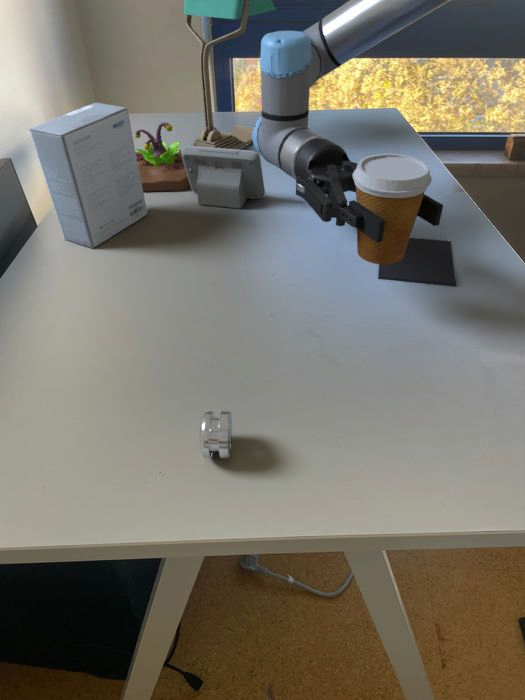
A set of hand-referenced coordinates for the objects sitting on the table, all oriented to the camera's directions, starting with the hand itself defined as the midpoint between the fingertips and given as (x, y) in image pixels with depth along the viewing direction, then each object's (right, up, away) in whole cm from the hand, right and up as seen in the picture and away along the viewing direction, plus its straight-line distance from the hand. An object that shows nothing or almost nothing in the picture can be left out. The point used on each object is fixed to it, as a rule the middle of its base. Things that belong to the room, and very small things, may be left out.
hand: (410, 223), depth 63 cm
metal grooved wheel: (-23, -27, -6) cm, 36 cm away
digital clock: (-26, +16, +43) cm, 53 cm away
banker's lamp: (-26, +36, +68) cm, 81 cm away
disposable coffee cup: (-2, -2, +8) cm, 8 cm away
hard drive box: (-48, +8, +35) cm, 60 cm away
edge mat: (+8, 0, +24) cm, 25 cm away
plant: (-40, +24, +54) cm, 71 cm away
